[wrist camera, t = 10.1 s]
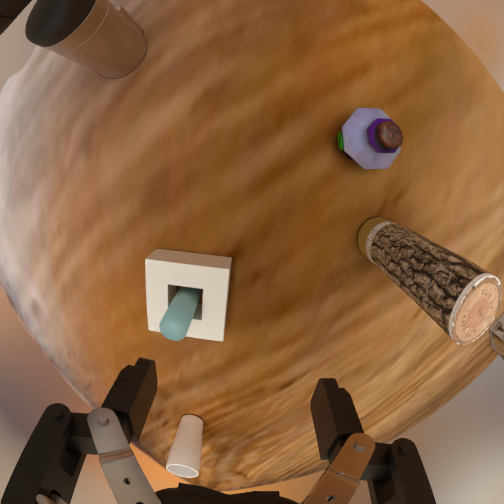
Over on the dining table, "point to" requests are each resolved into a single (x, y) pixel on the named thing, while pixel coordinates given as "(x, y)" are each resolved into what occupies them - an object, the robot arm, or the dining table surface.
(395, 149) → the potion bottle
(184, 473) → the drinking glass
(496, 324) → the coffee box
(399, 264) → the paper tube
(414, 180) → the dining table surface
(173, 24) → the dining table surface
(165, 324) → the peg
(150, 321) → the socket block
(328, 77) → the dining table surface
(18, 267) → the dining table surface
